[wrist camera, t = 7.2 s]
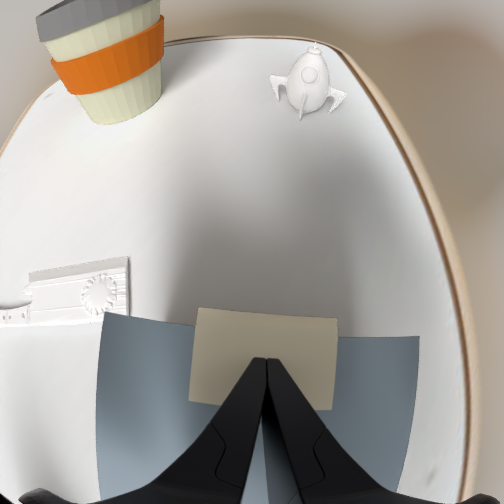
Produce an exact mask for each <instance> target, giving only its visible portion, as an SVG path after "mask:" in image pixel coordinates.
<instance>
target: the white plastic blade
mask: <svg viewBox="0 0 504 504" xmlns="http://www.w3.org/2000/svg"><path fill="white" fill-rule="evenodd" d="M23 293H25V294H27V295H30V294H32V301H31V303H29V305H25V306H22V307H18V308H14V309H10V310H3V309H0V327H15V326H40V325H69V324H75V323H79V324H86V323H87V322H99V321H103V319H104V312H105V311H106V312H111V313H116V314H121V315H127V316H129V296H128V256H126V257H120V258H114V259H108V260H102V261H96V262H90V263H83V264H79V265H77V266H76V265H72V266H66V267H60V268H55V269H49V270H43V271H37V272H32V273H29V284H28V286H26V287H25V288H24V289H23Z"/></svg>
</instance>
